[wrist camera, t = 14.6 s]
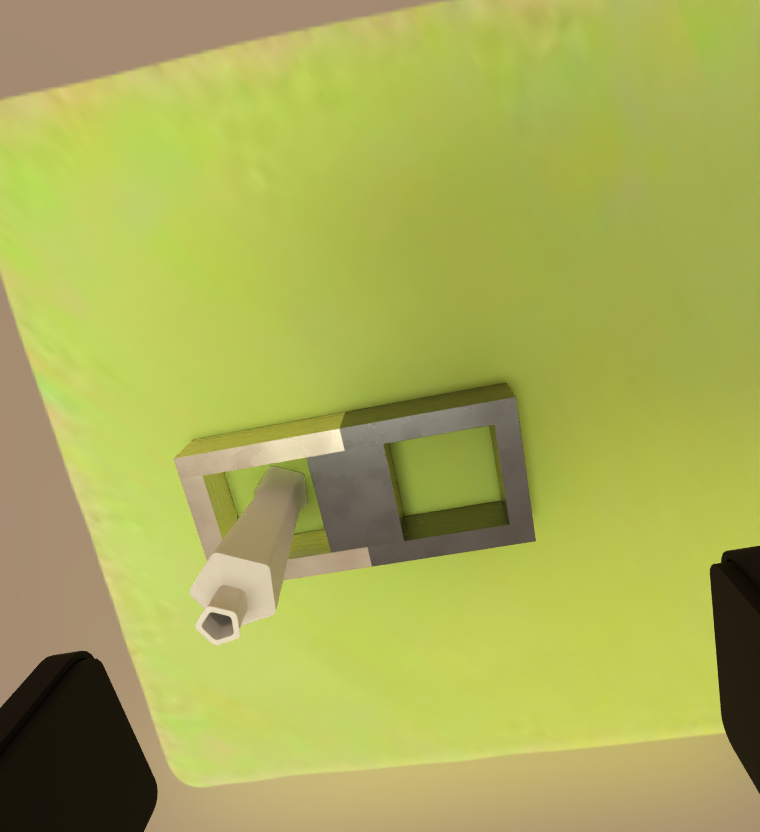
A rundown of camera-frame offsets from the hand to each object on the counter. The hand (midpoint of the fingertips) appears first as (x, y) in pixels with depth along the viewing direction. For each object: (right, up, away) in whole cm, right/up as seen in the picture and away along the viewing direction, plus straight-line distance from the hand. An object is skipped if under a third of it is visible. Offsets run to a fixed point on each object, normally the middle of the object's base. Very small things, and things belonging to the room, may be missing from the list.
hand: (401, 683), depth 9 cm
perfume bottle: (-8, -1, +33) cm, 34 cm away
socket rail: (-2, 0, +32) cm, 32 cm away
